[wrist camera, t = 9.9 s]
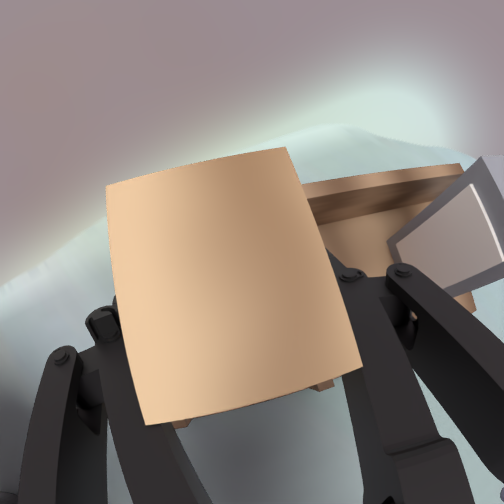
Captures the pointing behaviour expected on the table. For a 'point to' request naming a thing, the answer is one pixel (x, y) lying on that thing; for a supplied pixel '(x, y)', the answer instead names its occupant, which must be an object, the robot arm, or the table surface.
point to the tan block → (224, 286)
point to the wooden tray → (371, 221)
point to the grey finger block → (459, 231)
